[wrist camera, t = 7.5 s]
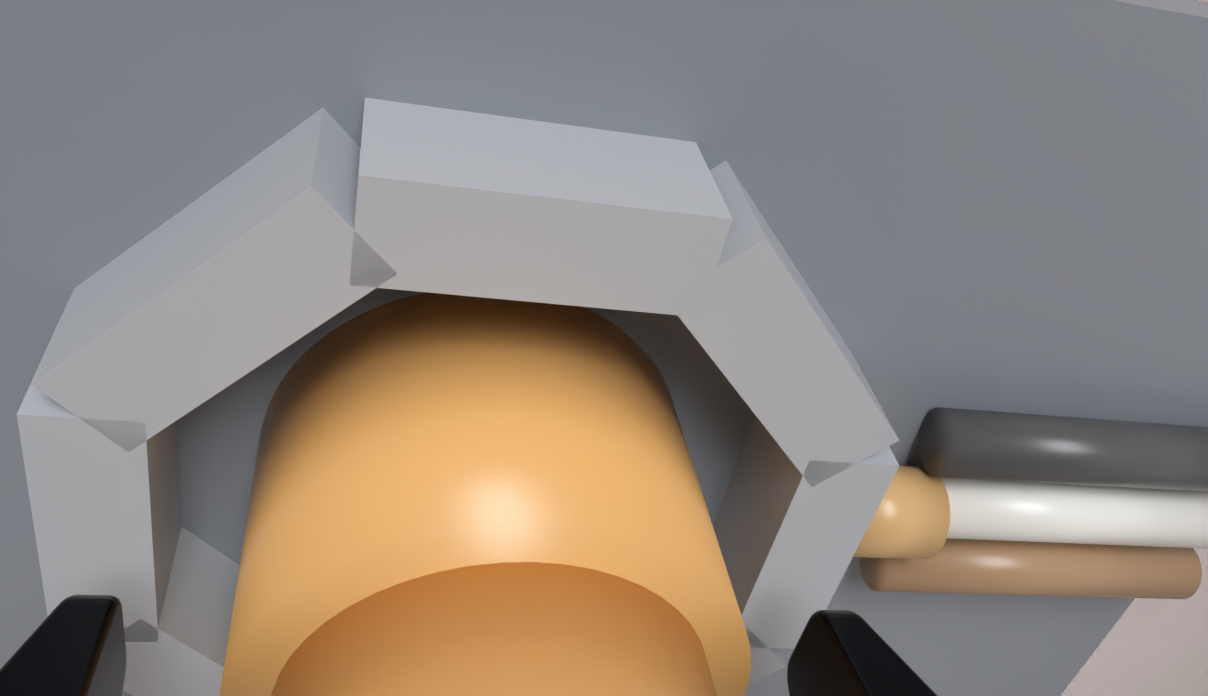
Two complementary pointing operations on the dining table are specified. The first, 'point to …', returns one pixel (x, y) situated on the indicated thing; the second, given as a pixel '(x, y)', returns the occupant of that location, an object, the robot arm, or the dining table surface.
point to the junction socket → (632, 287)
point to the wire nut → (479, 517)
